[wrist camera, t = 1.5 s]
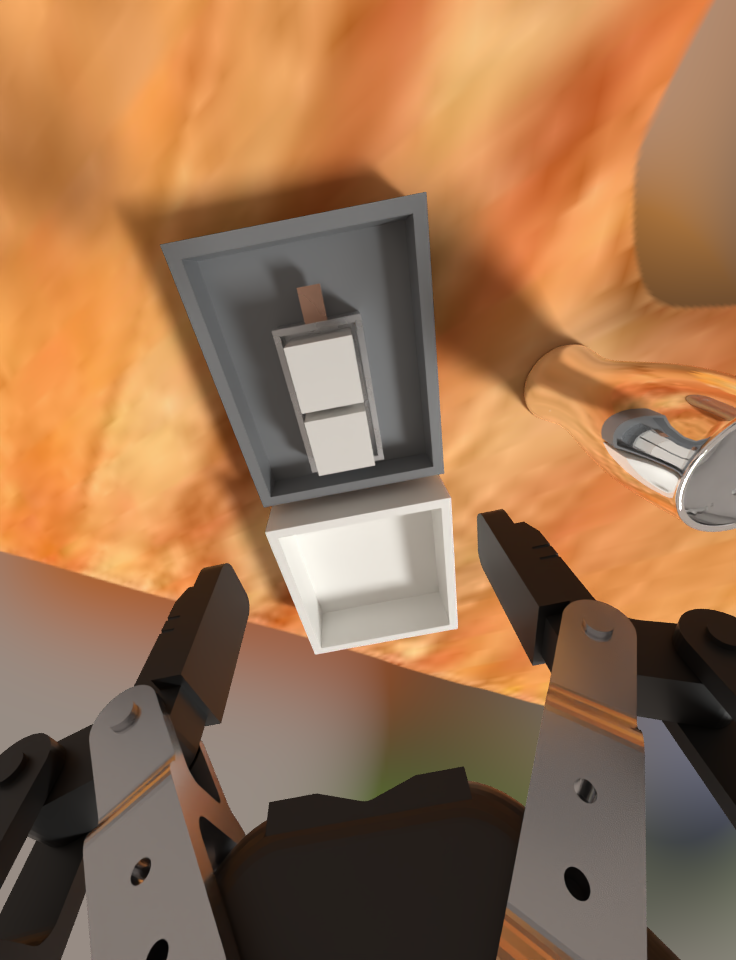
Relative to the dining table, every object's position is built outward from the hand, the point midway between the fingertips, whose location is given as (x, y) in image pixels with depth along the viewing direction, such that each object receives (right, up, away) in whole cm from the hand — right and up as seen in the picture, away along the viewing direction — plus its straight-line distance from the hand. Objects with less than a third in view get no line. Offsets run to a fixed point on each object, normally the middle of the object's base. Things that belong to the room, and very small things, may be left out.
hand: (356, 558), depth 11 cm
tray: (-3, +11, +15) cm, 18 cm away
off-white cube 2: (-2, +7, +15) cm, 17 cm away
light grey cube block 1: (-3, +11, +13) cm, 17 cm away
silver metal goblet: (+16, +10, +17) cm, 25 cm away
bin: (0, -4, +24) cm, 24 cm away
